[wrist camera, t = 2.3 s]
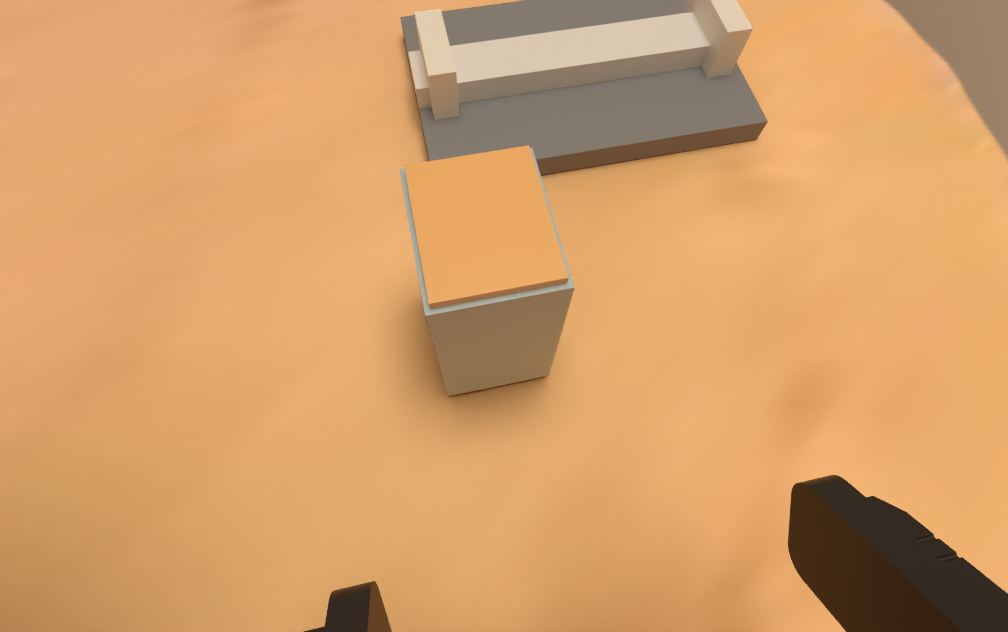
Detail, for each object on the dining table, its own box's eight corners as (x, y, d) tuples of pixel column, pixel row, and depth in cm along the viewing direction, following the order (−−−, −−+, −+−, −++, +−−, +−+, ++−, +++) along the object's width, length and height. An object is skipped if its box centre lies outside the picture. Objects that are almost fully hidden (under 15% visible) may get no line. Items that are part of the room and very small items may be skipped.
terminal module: (448, 398, 27) (423, 310, 17) (429, 291, 29) (397, 161, 20) (547, 378, 27) (575, 282, 18) (520, 274, 30) (533, 140, 20)
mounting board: (435, 192, 32) (426, 135, 27) (404, 37, 37) (391, -32, 33) (756, 139, 34) (794, 77, 29) (684, -2, 39) (707, -71, 35)
